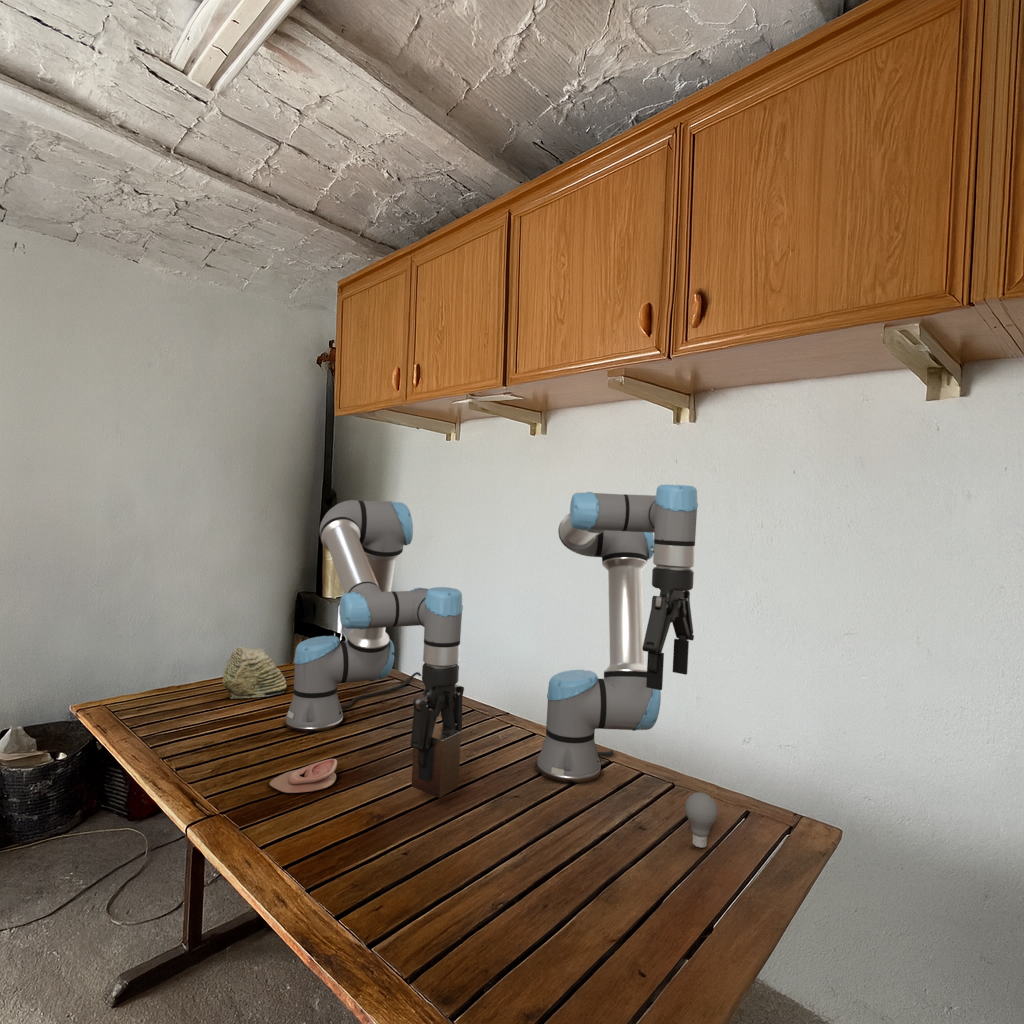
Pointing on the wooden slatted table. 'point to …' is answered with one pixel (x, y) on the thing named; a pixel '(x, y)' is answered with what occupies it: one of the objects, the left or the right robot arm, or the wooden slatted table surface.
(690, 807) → the light bulb
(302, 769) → the anatomical model
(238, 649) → the fossil
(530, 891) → the wooden slatted table surface
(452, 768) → the block
